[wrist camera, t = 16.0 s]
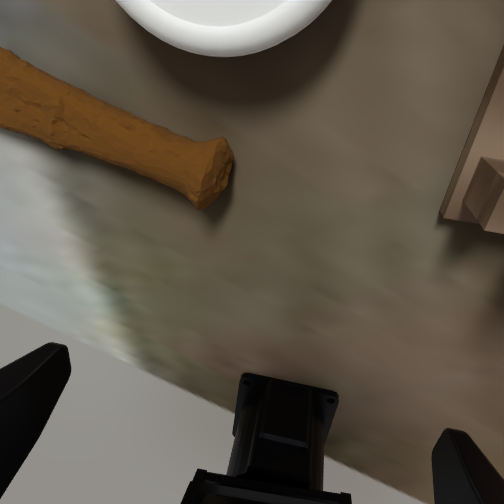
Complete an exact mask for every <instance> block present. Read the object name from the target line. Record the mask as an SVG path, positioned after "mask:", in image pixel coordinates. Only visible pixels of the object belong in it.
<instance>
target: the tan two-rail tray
mask: <svg viewBox="0 0 504 504" xmlns="http://www.w3.org/2000/svg"><path fill="white" fill-rule="evenodd" d="M440 213H441V214H442V216H443V218H447V219H452V220H458V221H464V222H470V223H476V224H480V225H481V227H482V228H483V230H484V231H490V232H496V233H502V234H504V47H503V49H502V52H501V54H500V57H499V60H498V62H497V65H496V67H495V70H494V72H493V75H492V77H491V80H490V83H489V85H488V88H487V90H486V93H485V95H484V98H483V101H482V103H481V106H480V108H479V111H478V113H477V116H476V118H475V121H474V124H473V126H472V129H471V131H470V134H469V136H468V139H467V142H466V144H465V147H464V149H463V152H462V154H461V157H460V159H459V162H458V165H457V167H456V170H455V172H454V175H453V177H452V180H451V183H450V185H449V188H448V190H447V193H446V195H445V198H444V201H443V203H442V206H441V208H440Z"/></svg>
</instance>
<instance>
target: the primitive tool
mask: <svg viewBox="0 0 504 504" xmlns="http://www.w3.org/2000/svg"><path fill="white" fill-rule="evenodd" d="M0 128H3V129H7V130H11V131H13V132H17V133H23V134H25V135H26V136H31V137H34V138H36V139H41V140H42V141H43V142H44V143H46V144H48V145H49V146H51V147H53V148H56V149H72V150H75V151H78V152H81V153H84V154H86V155H89V156H92V157H94V158H97V159H102V160H104V161H107V162H109V163H111V164H114V165H118V166H121V167H124V168H127V169H130V170H132V171H135V172H137V173H139V174H140V175H142V176H145V177H148V178H152V179H154V180H156V181H158V182H160V183H162V184H164V185H167V186H169V187H172V188H174V189H176V190H178V191H179V192H181V193H183V194H184V195H185V196H187V197H188V198H189V201H191V203H192V204H193V205H194V206H195V207H196V209H197V210H203V209H204V208H206V207H207V206H209V205H210V204H211V203H212V202H213V201H214V200H216V199H217V198H218V197H219V196H220V193H221V191H222V190H224V189H225V188H226V186H227V185H228V177H229V174H230V171H231V166H232V162H233V160H234V157H233V153H232V151H231V149H230V147H229V145H228V142H227V140H226V139H225V138H224V137H221V138H216V139H213V140H209V141H204V142H195V141H193V140H191V139H189V138H187V137H184V136H179V135H177V134H175V133H173V132H171V131H170V130H168V129H167V128H164V127H161V126H158V125H154V124H151V123H149V122H147V121H145V120H143V119H140V118H138V117H136V116H134V115H132V114H131V113H130V112H127V111H125V110H122V109H119V108H117V107H114V106H111V105H109V104H107V103H105V102H103V101H101V100H99V99H97V98H95V97H93V96H91V95H90V94H88V93H86V92H85V91H83V90H82V89H79V88H76V87H73V86H72V85H70V84H68V83H66V82H64V81H61V80H59V79H57V78H55V77H53V76H51V75H50V74H48V73H46V72H44V71H42V70H40V69H38V68H36V67H34V66H33V65H31V64H30V63H28V62H27V61H23V60H21V59H20V58H19V57H18V56H17V55H15V54H14V53H13V52H11V51H10V50H6V49H3V48H1V47H0Z"/></svg>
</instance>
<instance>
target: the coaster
mask: <svg viewBox="0 0 504 504" xmlns="http://www.w3.org/2000/svg"><path fill="white" fill-rule="evenodd" d="M331 1H332V0H116V2H117V3H118V4H119V5H120V6H121V7H122V8H123V9H124V10H125V11H126V12H127V13H128V14H129V15H130V16H131V17H132V18H133V19H134V20H135V21H136V22H137V23H139V24H140V25H141V26H142V27H143V28H145V29H146V30H147V31H148V32H150V33H151V34H153V35H154V36H156V37H157V38H159V39H161V40H162V41H164V42H166V43H168V44H170V45H172V46H174V47H176V48H179V49H182V50H185V51H188V52H191V53H195V54H200V55H205V56H213V57H235V56H244V55H249V54H253V53H257V52H260V51H263V50H266V49H268V48H271V47H273V46H276V45H278V44H279V43H281V42H283V41H285V40H287V39H288V38H290V37H292V36H294V35H296V34H297V33H298V32H300V31H301V30H303V29H304V28H305V27H307V26H308V25H309V24H311V23H312V22H313V21H314V20H315V19H316V18H317V17H318V16H319V15H320V14H321V13H322V12H323V11H324V10H325V9H326V7H327V6H328V5H329V4H330V2H331Z"/></svg>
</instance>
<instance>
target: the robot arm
mask: <svg viewBox="0 0 504 504" xmlns="http://www.w3.org/2000/svg"><path fill="white" fill-rule="evenodd" d="M70 374H71V364H70V358H69V352H68V348H67V346H66V345H63V344H58V343H54V342H51V343H47V344H45V345H43V346H41V347H39V348H37V349H36V350H34V351H32V352H30V353H28V354H26V355H25V356H23V357H21V358H19V359H17V360H15V361H14V362H12V363H10V364H8V365H7V366H5V367H3V368H1V369H0V499H1V497H2V495H3V494H4V492H5V491H6V489H7V487H8V486H9V484H10V483H11V481H12V480H13V478H14V476H15V475H16V473H17V472H18V470H19V468H20V467H21V465H22V464H23V462H24V461H25V459H26V458H27V456H28V454H29V453H30V451H31V450H32V448H33V447H34V445H35V443H36V442H37V440H38V438H39V437H40V435H41V433H42V431H43V429H44V427H45V425H46V423H47V421H48V419H49V417H50V415H51V413H52V411H53V409H54V407H55V405H56V403H57V401H58V399H59V397H60V395H61V393H62V391H63V389H64V387H65V385H66V384H67V382H68V380H69V377H70ZM247 380H248V381H247ZM330 398H332V399H330ZM338 403H339V395H338V394H337V393H336V392H334V391H331V390H326V389H322V388H317V387H312V386H308V385H303V384H298V383H294V382H289V381H284V380H280V379H275V378H270V377H266V376H261V375H256V374H252V373H243V374H242V375H241V378H240V382H239V390H238V397H237V404H236V411H235V418H234V425H233V433H232V434H233V436H234V437H235V440H234V444H233V449H232V453H231V457H230V461H229V466H228V471H227V474H226V475H223V474H216V473H211V472H207V470H203V469H197V471H196V474H195V476H194V478H193V481H190V483H189V485H188V488H187V490H186V493H185V495H184V497H183V499H182V502H181V504H352V501H351V494H349V493H343V492H341V493H340V494H338V493H332V492H326V491H323V469H324V467H323V466H324V444H325V441H326V438H327V435H328V432H329V429H330V426H331V423H332V420H333V418H334V415H335V412H336V409H337V406H338ZM432 472H433V486H434V500H435V504H504V479H503V478H502V477H501V475H500V474H499V473H498V472H497V470H496V469H495V468H494V467H493V465H492V464H491V463H490V461H489V460H488V459H487V458H486V456H485V455H484V454H483V453H482V451H481V450H480V449H479V448H478V446H477V445H476V444H475V442H474V441H473V440H472V439H471V437H470V436H469V435H468V434H467V433H466V432H464V431H461V430H456V429H451V428H446V429H445V430H444V431H443V432H442V434H441V436H440V438H439V439H438V441H437V443H436V445H435V446H434V448H433V451H432Z"/></svg>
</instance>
